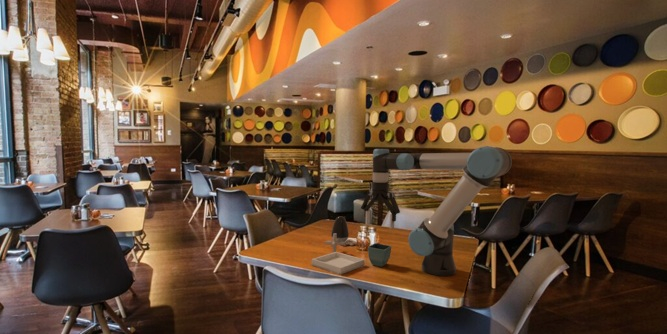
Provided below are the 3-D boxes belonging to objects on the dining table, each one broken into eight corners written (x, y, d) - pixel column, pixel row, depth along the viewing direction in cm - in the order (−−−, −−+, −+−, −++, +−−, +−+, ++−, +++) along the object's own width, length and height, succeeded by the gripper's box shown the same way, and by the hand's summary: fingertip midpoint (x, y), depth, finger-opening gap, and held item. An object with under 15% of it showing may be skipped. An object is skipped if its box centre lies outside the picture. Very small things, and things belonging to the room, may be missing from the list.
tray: (364, 265, 171) (364, 259, 171) (340, 274, 158) (340, 268, 158) (335, 257, 183) (336, 251, 182) (311, 265, 169) (311, 259, 169)
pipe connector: (342, 256, 185) (342, 236, 185) (323, 254, 187) (323, 235, 187) (345, 250, 195) (345, 232, 195) (327, 249, 197) (327, 230, 197)
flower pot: (383, 269, 167) (384, 249, 167) (366, 265, 172) (367, 246, 171) (391, 264, 175) (392, 245, 174) (374, 260, 179) (375, 242, 179)
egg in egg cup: (351, 241, 215) (352, 216, 214) (342, 245, 206) (343, 218, 206) (337, 238, 221) (337, 213, 220) (327, 242, 212) (328, 216, 211)
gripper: (408, 182, 166) (406, 228, 167) (363, 179, 182) (362, 221, 183) (399, 183, 161) (398, 231, 162) (354, 180, 177) (353, 223, 178)
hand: (379, 226), depth 172 cm, fingers open, 13 cm apart
